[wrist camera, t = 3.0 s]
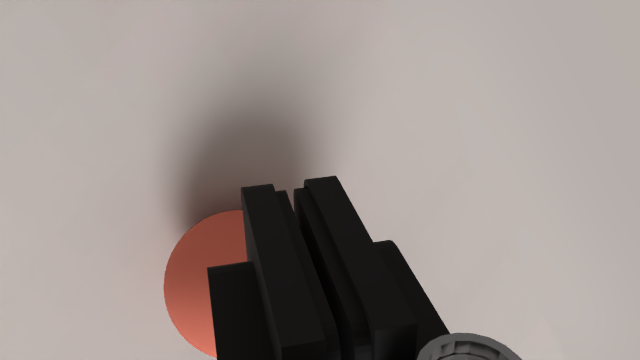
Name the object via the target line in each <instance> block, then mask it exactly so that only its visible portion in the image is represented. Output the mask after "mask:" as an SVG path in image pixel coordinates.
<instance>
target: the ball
mask: <svg viewBox="0 0 640 360" xmlns="http://www.w3.org/2000/svg"><path fill="white" fill-rule="evenodd" d="M240 262H247V252H246V241H245V231H244V220H243V210H231V211H225V212H221V213H218V214H214V215H212V216H210V217H207V218H205V219H204V220H202V221H200V222H199V223H197V224H196V225H195V226H193V227H192V228H191V229H190V230H189V231H188V232H187V233H185V234H184V235H183V237H182V238H181V239H180V240H179V242H178V243H177V245H176V246H175V248H174V250H173V252H172V253H171V256H170V258H169V261H168V264H167V267H166V271H165V277H164V297H165V303H166V307H167V310H168V313H169V316H170V318H171V320H172V322H173V324H174V325H175V327H176V328H177V330H178V331H179V333H180V334H181V335H182V336H183V337H184V338H185V339H186V340H187V341H188V342H189V343H190V344H191V345H193V346H194V347H195V348H197V349H198V350H200V351H202V352H204V353H206V354H208V355H210V356H213V357H216V358H217V354H216V345H215V336H214V327H213V318H212V309H211V301H210V292H209V283H208V274H207V267H213V266H220V265H227V264H233V263H240Z"/></svg>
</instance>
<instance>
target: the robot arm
mask: <svg viewBox="0 0 640 360" xmlns="http://www.w3.org/2000/svg"><path fill="white" fill-rule="evenodd" d="M241 199H242V209H243V220H244V231H245V241H246V252H247V262H240V263H233V264H227V265H220V266H213V267H207V274H208V283H209V292H210V301H211V309H212V318H213V327H214V336H215V345H216V354H217V360H522V359H521V358H520V357H519V356H518V355H517V354H515V353H514V352H513V351H512V350H510V349H509V348H508V347H507V346H506V345H504V344H502V343H500V342H498V341H496V340H494V339H491V338H489V337H485V336H481V335H477V334H472V333H453V334H450V333H449V331H448V329H447V328H446V326H445V325H444V323H443V321H442V320H441V318H440V316H439V315H438V313H437V311H436V310H435V308H434V306H433V305H432V303H431V302H430V300H429V298H428V297H427V295H426V293H425V292H424V290H423V288H422V287H421V285H420V283H419V282H418V280H417V279H416V277H415V275H414V274H413V272H412V270H411V269H410V267H409V265H408V264H407V262H406V260H405V259H404V257H403V256H402V254H401V252H400V251H399V249H398V247H397V246H396V245H395V243H394V242H393V241H391V240H386V241H380V242H373V241H372V239H371V238H370V236H369V234H368V232H367V230H366V229H365V227H364V225H363V223H362V221H361V219H360V218H359V216H358V214H357V212H356V210H355V209H354V207H353V205H352V203H351V201H350V200H349V198H348V196H347V194H346V192H345V191H344V189H343V187H342V185H341V183H340V181H339V180H338V178H337V177H336V176H329V177H321V178H314V179H306V180H305V181H304V188H299V189H294V211H293V209H292V206H291V203H290V201H289V198H288V195H287V193H286V191H285V190H283V191H275V189H274V186H273V184H266V185H258V186H251V187H243V188H241Z"/></svg>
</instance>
